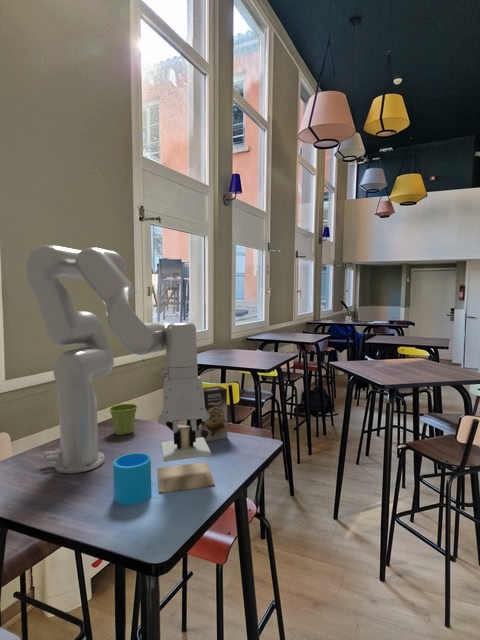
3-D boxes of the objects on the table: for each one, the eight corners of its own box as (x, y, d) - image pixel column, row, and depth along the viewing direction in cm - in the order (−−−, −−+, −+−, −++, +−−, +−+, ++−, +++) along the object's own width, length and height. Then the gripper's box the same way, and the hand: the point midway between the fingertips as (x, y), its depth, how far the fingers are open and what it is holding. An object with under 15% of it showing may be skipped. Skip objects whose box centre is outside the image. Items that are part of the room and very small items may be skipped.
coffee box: (202, 443, 116) (200, 392, 116) (194, 437, 122) (193, 388, 122) (228, 438, 121) (227, 388, 120) (220, 432, 126) (219, 384, 126)
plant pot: (104, 436, 125) (103, 410, 124) (118, 427, 134) (117, 403, 134) (130, 437, 123) (129, 411, 123) (142, 428, 132) (142, 403, 132)
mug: (157, 496, 85) (156, 460, 84) (122, 509, 79) (121, 471, 79) (136, 478, 94) (135, 445, 94) (103, 488, 89) (102, 454, 88)
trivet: (158, 493, 86) (158, 491, 86) (157, 469, 98) (157, 467, 98) (214, 485, 89) (214, 484, 89) (206, 463, 101) (206, 462, 101)
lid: (164, 461, 86) (163, 437, 86) (161, 445, 97) (160, 423, 97) (211, 455, 89) (210, 431, 89) (203, 440, 100) (202, 418, 100)
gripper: (148, 377, 87) (151, 455, 88) (217, 372, 91) (219, 447, 91) (148, 372, 94) (151, 444, 95) (212, 368, 98) (214, 437, 99)
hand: (185, 445), depth 93 cm, fingers closed on lid, 2 cm apart
